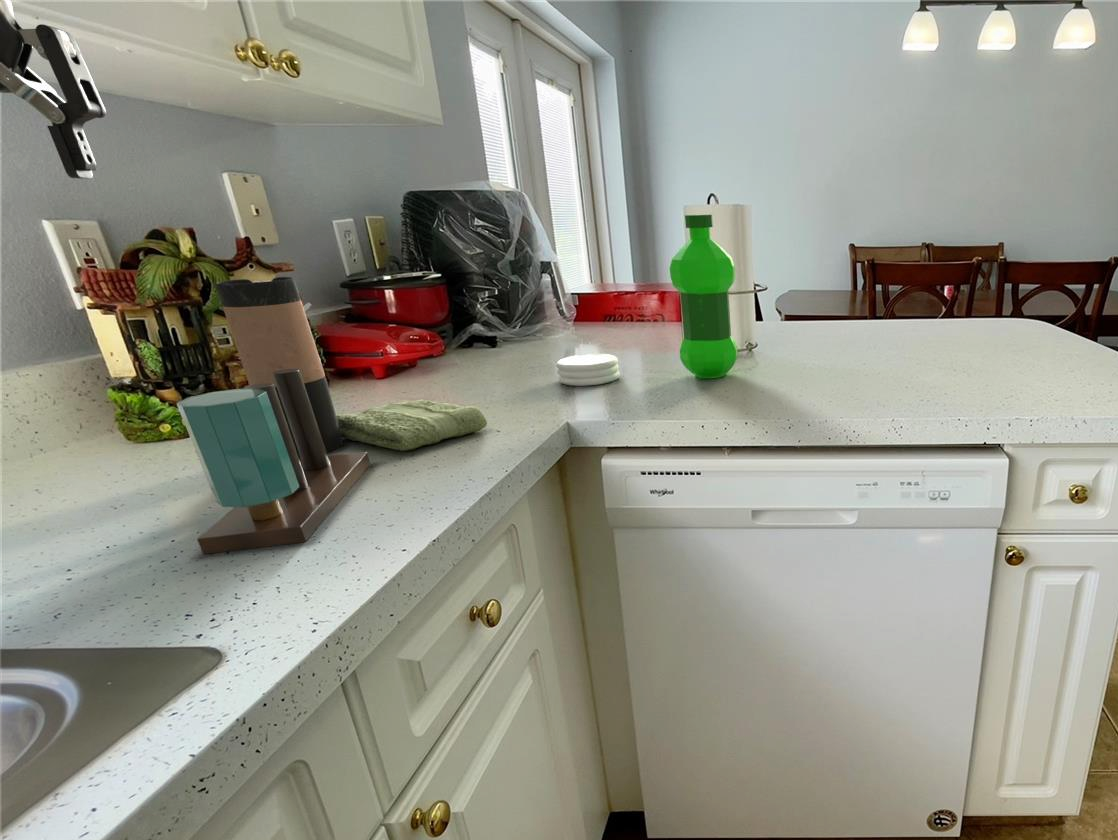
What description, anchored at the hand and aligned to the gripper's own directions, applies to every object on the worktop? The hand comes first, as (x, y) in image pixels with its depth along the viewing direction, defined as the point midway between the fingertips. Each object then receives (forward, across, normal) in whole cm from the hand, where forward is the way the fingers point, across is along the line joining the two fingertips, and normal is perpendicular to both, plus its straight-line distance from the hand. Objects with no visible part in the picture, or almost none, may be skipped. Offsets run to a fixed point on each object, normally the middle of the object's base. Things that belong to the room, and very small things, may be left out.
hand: (19, 178), depth 58 cm
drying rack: (+30, +12, -1) cm, 32 cm away
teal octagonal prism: (+26, +12, -8) cm, 30 cm away
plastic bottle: (+30, +61, +42) cm, 80 cm away
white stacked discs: (+30, +41, +46) cm, 69 cm away
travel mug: (+30, +7, +19) cm, 36 cm away
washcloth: (+30, +18, +22) cm, 41 cm away
